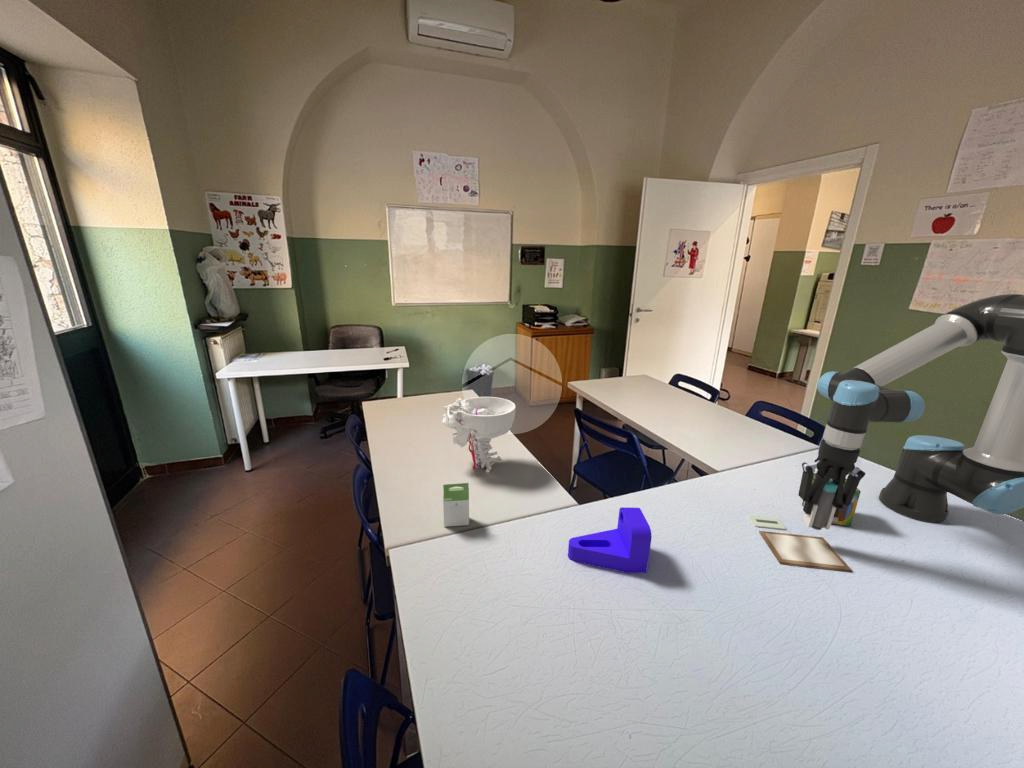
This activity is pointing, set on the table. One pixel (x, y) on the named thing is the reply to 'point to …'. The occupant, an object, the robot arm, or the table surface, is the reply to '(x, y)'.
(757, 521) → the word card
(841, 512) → the chalk box
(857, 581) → the table surface
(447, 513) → the ink box
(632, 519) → the bracket
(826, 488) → the marker
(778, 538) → the brown picture frame
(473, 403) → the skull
